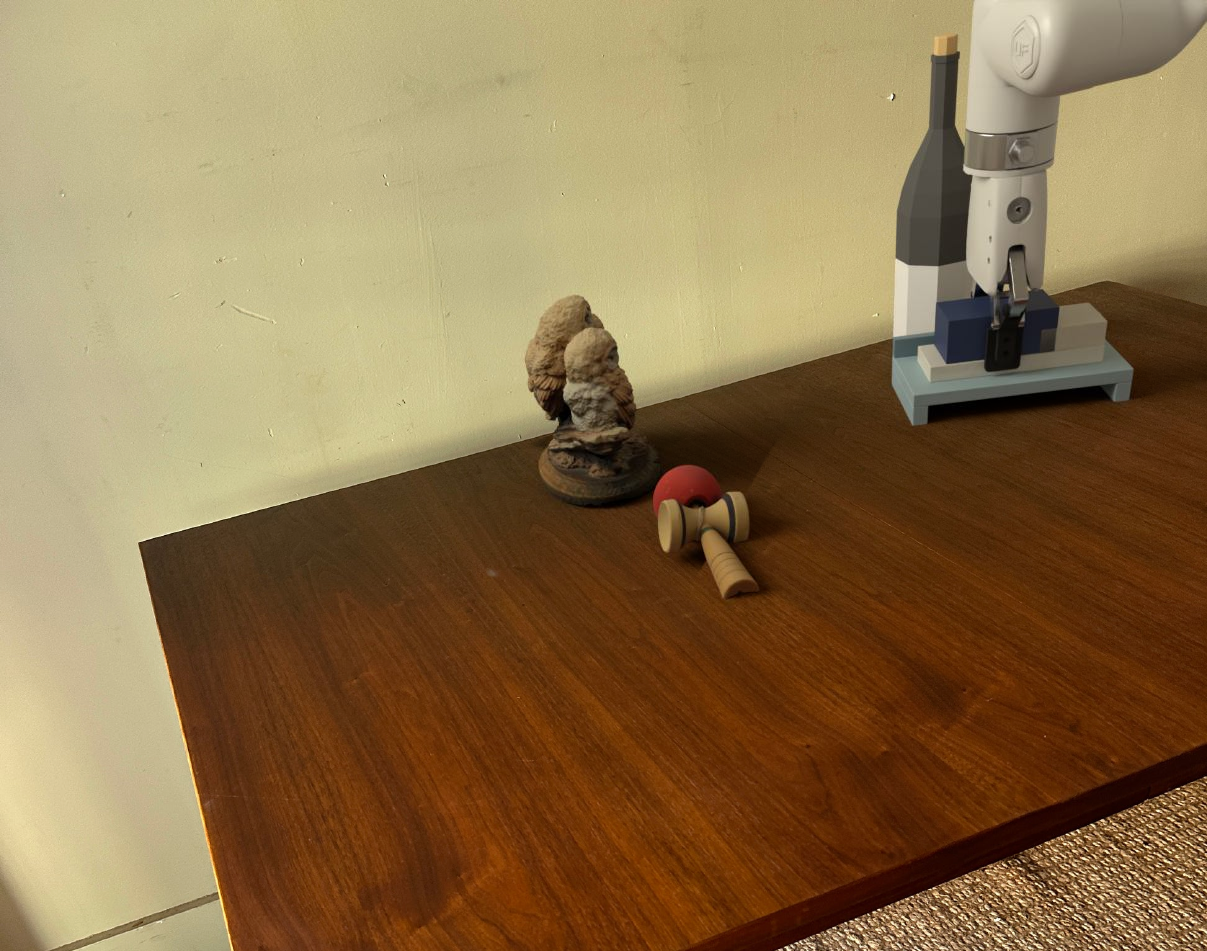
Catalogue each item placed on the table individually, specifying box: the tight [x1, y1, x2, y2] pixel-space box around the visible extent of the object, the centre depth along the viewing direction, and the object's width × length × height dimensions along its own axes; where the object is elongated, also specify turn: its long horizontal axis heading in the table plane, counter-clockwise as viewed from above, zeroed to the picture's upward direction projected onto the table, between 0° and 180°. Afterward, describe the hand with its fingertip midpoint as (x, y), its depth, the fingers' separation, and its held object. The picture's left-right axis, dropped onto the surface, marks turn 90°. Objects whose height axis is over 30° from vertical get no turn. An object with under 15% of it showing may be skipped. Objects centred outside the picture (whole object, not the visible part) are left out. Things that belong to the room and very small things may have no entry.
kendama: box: [652, 464, 760, 600], centre depth 99 cm, size 8×6×18 cm
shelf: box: [891, 310, 1135, 426], centre depth 116 cm, size 20×11×6 cm, turn 90°
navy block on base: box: [917, 288, 1108, 383], centre depth 113 cm, size 16×6×6 cm, turn 90°
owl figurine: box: [524, 294, 662, 507], centre depth 112 cm, size 18×12×17 cm, turn 14°
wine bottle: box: [892, 32, 973, 338], centre depth 120 cm, size 8×8×30 cm
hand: (992, 355), depth 114 cm, fingers closed on navy block on base, 6 cm apart
